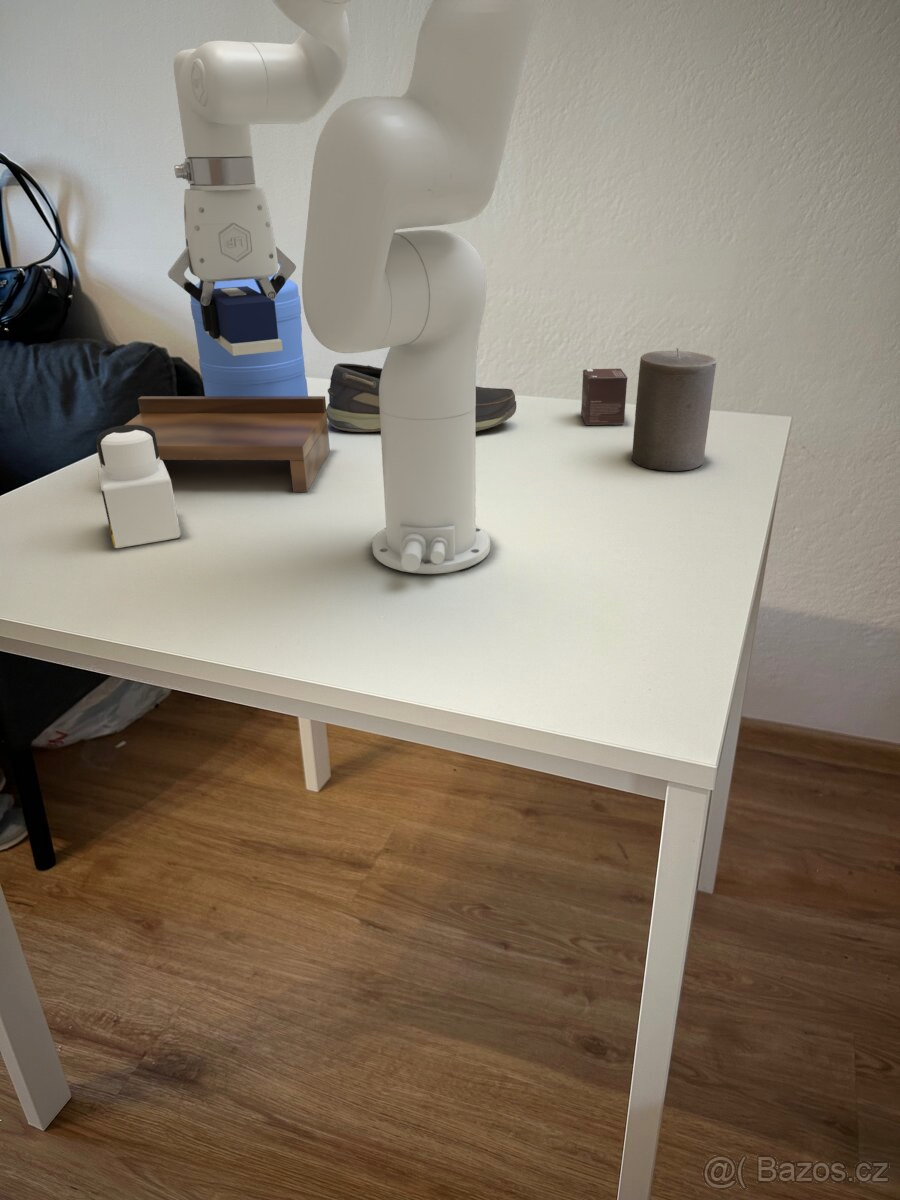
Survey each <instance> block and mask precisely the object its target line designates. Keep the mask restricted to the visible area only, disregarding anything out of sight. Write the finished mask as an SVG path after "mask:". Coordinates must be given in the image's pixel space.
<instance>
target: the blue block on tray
mask: <svg viewBox="0 0 900 1200" xmlns="http://www.w3.org/2000/svg"><path fill="white" fill-rule="evenodd" d="M211 299H212V302H213V305H215V306H216V311H217V319H218V326H219V334H220V338H218V339H214V340H215V341H216V342H218V343H219V344H220V345H221V346H222V347H224V348H225V349H226V350H227V351H228V352H229V353H231V354H232V355H233V356H237V355H246V354H255V353H265V352H274V351H282V350H283V349H282V341H281V340H280V339H278V329H277V320H276V310H275V301H273V300H271V299H270V298H268V297H266V296H264V295H262V294H260V293H259V292H257V291H255V290H253V289H251V288H249V287H248V286H244V287H231V288H218V289H214V290H213V294H212V298H211ZM205 332H206V331H205ZM206 333H207V334H208V335H209V331H207V332H206ZM209 336H210V335H209Z"/></svg>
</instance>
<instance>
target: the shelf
mask: <svg viewBox="0 0 900 1200" xmlns="http://www.w3.org/2000/svg"><path fill="white" fill-rule="evenodd" d="M137 403H138V409H139V414H137V415H136V416H135V417H133V418H132V419H130V420H129V421H127V422H126V423H125V424H124V425H141V426H144V427H148V428H150V429H152V430H153V431H154V432H155V436H156V442H157V447H158V453H159V458H160V460H162V461H163V460H165V461H166V460H168V461H185V460H186V461H204V460H205V461H289V464H290V475H291V484H292V485H291V486H292V492H293V493H308V491H309V490H310V487H311V486H312V484H313V482H314V481H315V479H316V477H317V475H318V474H319V472H320V469H321V468H322V466H323V465H324V463H325V461H326V459H327V458H328V456H329V454H330V452H331V450H330V437H329V427H328V419H327V413H326V409H327V401H326V396H324V395H308V396H205V395H204V396H202V395H201V396H200V395H199V396H197V395H194V396H193V395H191V396H190V395H189V396H188V395H187V396H184V395H183V396H181V395H179V396H177V395H174V396H172V395H171V396H170V395H169V396H168V395H166V396H165V395H164V396H163V395H160V396H157V395H155V396H153V395H150V396H146V395H145V396H144V395H143V396H140V397H138V398H137ZM96 451H97V455H98V459H99V463H100V468H102V464H101V460H100V455H99V450H98V446H97V445H96Z"/></svg>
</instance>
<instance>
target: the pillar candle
mask: <svg viewBox="0 0 900 1200" xmlns="http://www.w3.org/2000/svg"><path fill="white" fill-rule="evenodd" d="M639 359H640V360H639V368H638V380H637V389H636V390H637V391H636V403H635V412H634V413H635V414H634V426H633V439H632V451H631V452H632V455H630V458H631V461H633V462H634V463H635V464H637V466H640V467H642V468H645V469H651V470H657V471H665V472H667V471H669V472H680V471H682V472H683V471H689V470H694V469H697V468H700V467H701V466H702V465H703V463H704V459H705V453H706V445H707V437H708V429H709V423H710V422H709V421H710V415H711V407H712V399H713V398H712V397H713V392H714V383H715V376H716V375H715V374H716V367H717V363H718V360H717V359H716V357H714V356H711V355H708V354H704V353H701V352H694V351H689V350H679V347H676V350H657V351H656V350H655V351H650V352H646V353H643V354H642V355H641V356H640V358H639Z"/></svg>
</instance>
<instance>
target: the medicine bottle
mask: <svg viewBox="0 0 900 1200" xmlns="http://www.w3.org/2000/svg"><path fill="white" fill-rule="evenodd" d="M95 440H96V447H97V446H98V450H99V455H100V459H99V461H100V460H101V464H102V468H101V467H99V468H98V469H97V475H98V480H99V485H100V490H101V496H102V499H103V504H104V508H105V509H104V510H105V513H106V517H107V522H108V526H109V530H110V536H111V540H112V545H113V547H114V548H115V549H122V548H126V547H132V546H133V547H135V546H140V545H145V544H150V543H157V542H163V541H169V540H174V539H179V538H180V537H181V528H180V523H179V518H178V517H179V516H178V511H177V508H176V507H177V506H176V502H175V501H176V500H175V495H174V489H173V484H172V483H173V482H172V479H171V477H170V474H169V471H168V470H167V467H166V464H165V463H164V461H163V460H160V458H159V453H158V447H157V442H156V436H155V432H154V431H153V430H152V429H150V428H148V427H144V426H141V425H125V424H123V425H116V426H113V427H110V428H108V429H105V430H104V431H102V432H100V433H99V434H98V435H97V437H96V439H95ZM98 450H97V451H98ZM99 455H98V456H99ZM101 464H100V465H101Z"/></svg>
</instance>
